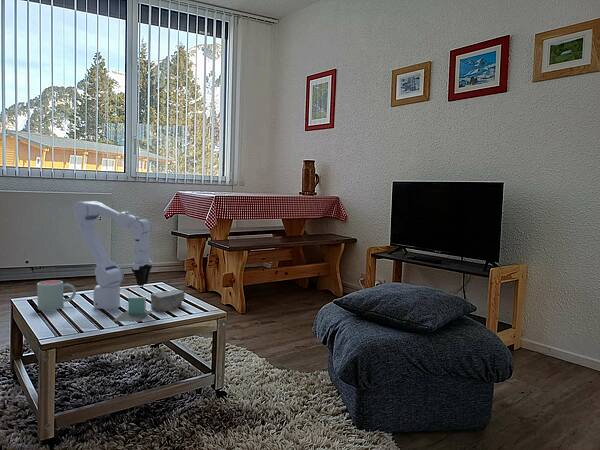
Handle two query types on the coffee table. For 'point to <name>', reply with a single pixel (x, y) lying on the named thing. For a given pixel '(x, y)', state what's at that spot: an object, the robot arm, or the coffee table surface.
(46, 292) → the mug
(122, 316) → the mat
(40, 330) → the coffee table surface
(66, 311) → the coffee table surface
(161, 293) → the decorative stone
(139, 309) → the tile
